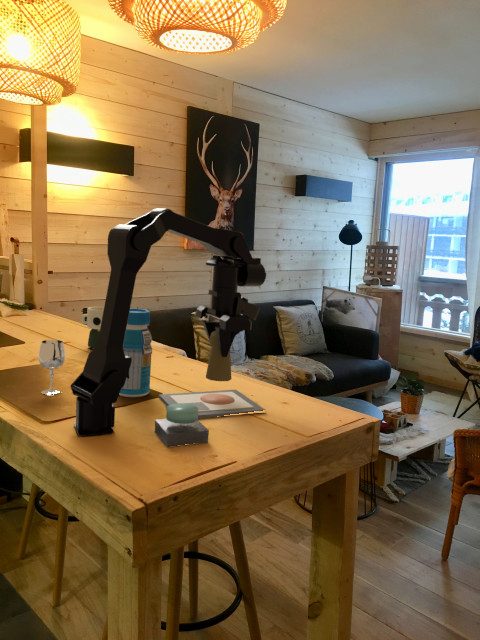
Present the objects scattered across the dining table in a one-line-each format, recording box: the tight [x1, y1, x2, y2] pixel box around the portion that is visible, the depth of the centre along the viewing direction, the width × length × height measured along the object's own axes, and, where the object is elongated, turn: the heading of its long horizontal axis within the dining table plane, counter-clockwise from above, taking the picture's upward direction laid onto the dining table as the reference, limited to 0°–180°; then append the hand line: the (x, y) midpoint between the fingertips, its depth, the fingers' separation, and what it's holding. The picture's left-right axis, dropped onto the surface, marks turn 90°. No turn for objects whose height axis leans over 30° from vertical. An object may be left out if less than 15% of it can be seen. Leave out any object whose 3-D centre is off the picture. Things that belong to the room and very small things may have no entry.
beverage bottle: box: [119, 308, 153, 398], centre depth 128 cm, size 8×8×20 cm
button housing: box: [154, 418, 210, 448], centre depth 103 cm, size 8×8×2 cm
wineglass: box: [38, 339, 66, 396], centre depth 124 cm, size 6×6×12 cm
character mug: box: [81, 306, 104, 349], centre depth 174 cm, size 11×7×13 cm, turn 124°
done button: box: [165, 403, 199, 424], centre depth 103 cm, size 6×6×2 cm
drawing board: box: [158, 389, 266, 420], centre depth 124 cm, size 20×16×1 cm
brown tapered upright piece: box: [205, 331, 232, 382], centre depth 124 cm, size 6×6×11 cm
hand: (220, 354), depth 124 cm, fingers closed on brown tapered upright piece, 5 cm apart
